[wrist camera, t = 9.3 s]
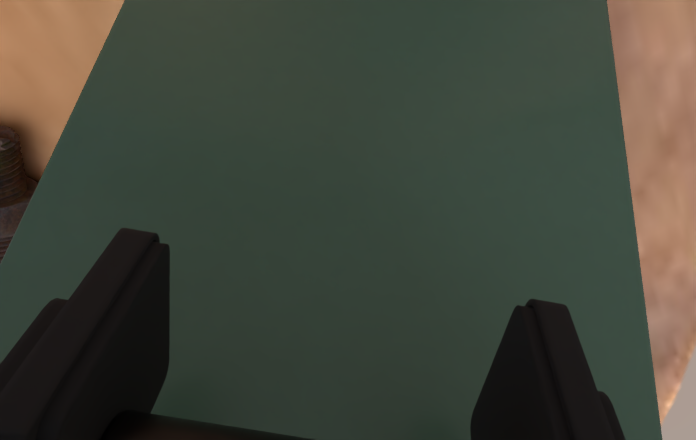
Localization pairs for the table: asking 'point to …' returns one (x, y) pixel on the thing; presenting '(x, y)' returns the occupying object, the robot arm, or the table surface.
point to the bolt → (12, 187)
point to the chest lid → (348, 208)
